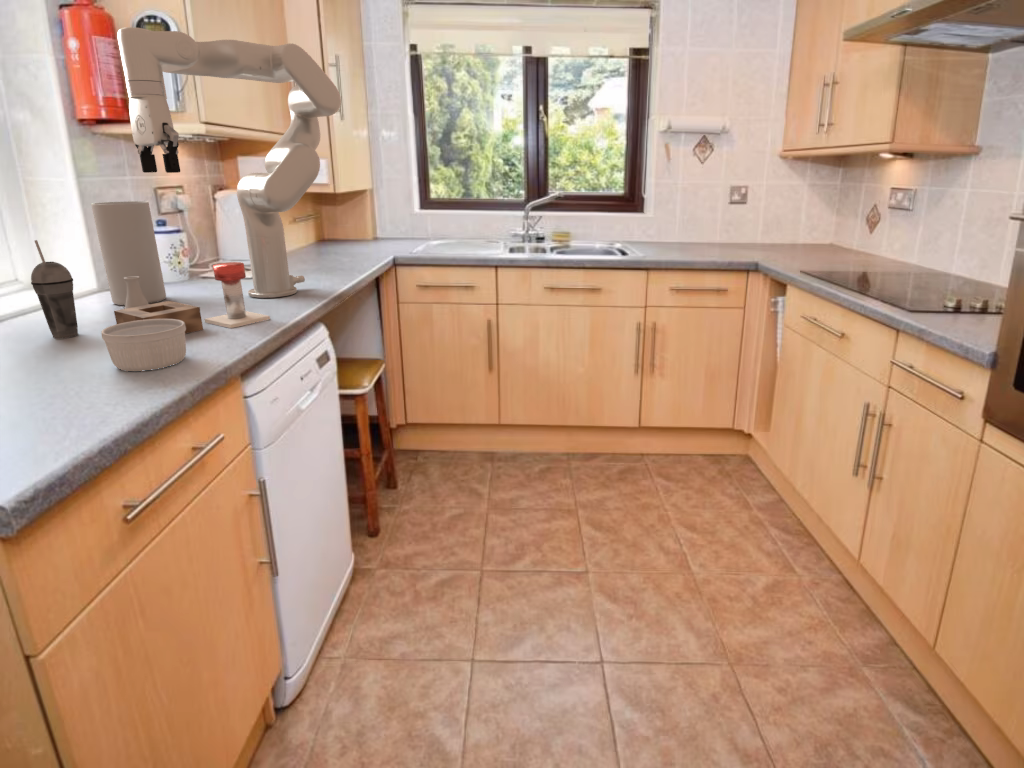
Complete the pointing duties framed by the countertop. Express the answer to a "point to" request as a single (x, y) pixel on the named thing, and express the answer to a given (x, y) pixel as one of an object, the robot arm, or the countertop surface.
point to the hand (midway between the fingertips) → (161, 172)
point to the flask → (134, 293)
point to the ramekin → (146, 343)
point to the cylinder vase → (129, 248)
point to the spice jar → (232, 287)
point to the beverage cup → (55, 297)
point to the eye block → (163, 314)
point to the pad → (237, 320)
